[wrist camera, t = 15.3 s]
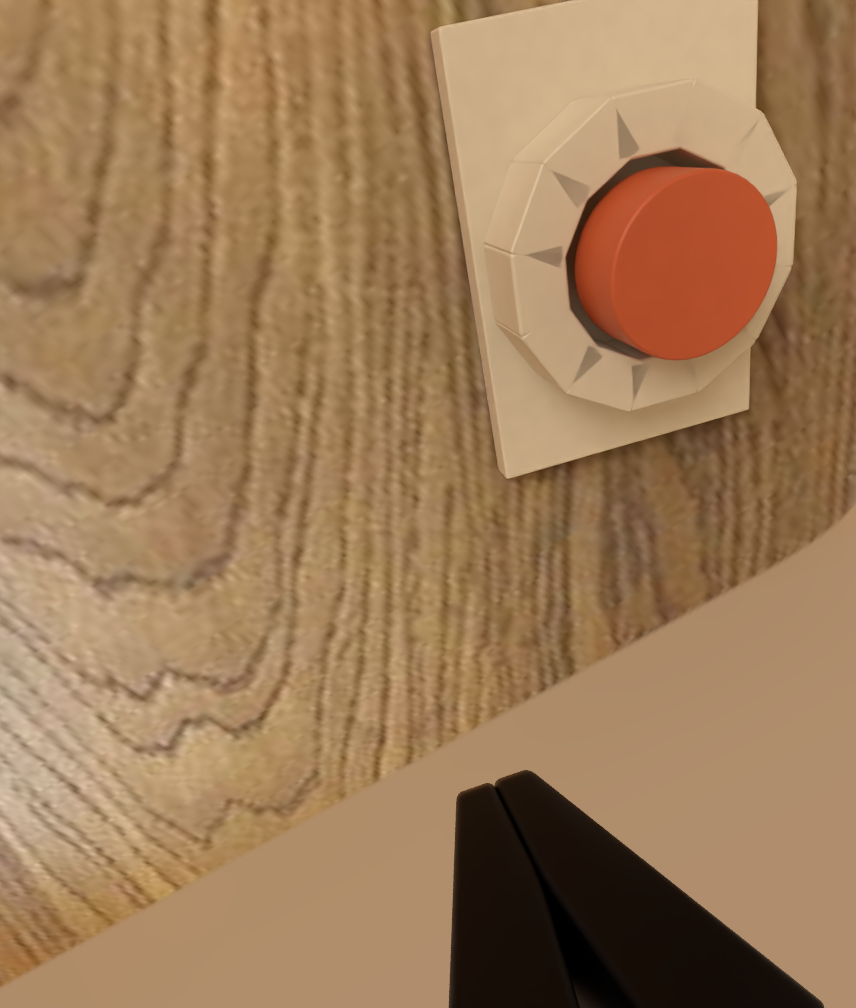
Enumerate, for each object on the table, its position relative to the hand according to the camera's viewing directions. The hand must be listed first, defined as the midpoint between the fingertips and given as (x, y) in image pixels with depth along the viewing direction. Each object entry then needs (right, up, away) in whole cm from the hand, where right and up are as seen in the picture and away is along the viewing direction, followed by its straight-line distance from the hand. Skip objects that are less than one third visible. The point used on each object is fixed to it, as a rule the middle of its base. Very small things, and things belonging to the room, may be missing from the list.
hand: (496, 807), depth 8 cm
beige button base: (+3, +9, +10) cm, 14 cm away
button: (+4, +9, +8) cm, 12 cm away
